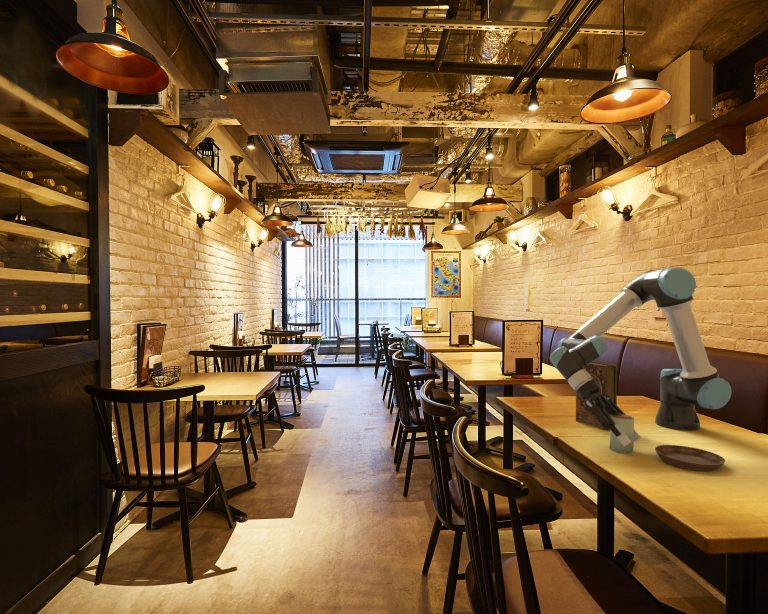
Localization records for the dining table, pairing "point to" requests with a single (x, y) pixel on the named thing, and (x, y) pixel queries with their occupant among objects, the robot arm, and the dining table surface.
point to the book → (608, 386)
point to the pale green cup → (628, 428)
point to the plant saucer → (690, 457)
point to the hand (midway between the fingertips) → (632, 441)
